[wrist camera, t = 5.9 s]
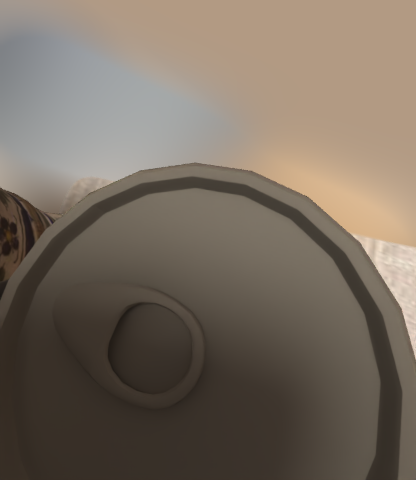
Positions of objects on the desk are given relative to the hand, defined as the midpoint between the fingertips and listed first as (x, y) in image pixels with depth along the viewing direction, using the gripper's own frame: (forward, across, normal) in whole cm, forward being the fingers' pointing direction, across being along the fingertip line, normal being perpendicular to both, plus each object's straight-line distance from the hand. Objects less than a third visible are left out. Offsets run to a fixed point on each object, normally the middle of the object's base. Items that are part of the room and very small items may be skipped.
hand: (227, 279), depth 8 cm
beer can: (+4, 0, +6) cm, 7 cm away
